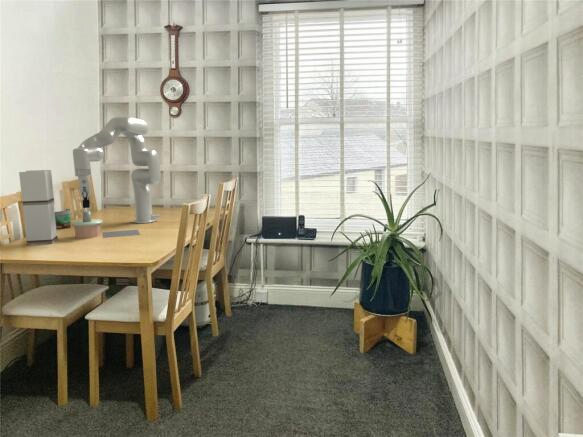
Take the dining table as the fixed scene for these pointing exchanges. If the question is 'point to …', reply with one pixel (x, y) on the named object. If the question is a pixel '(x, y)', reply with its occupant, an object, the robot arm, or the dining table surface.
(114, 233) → the mat
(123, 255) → the dining table surface
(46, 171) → the grey two-tier tower
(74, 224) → the lid
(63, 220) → the food container
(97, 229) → the bowl
